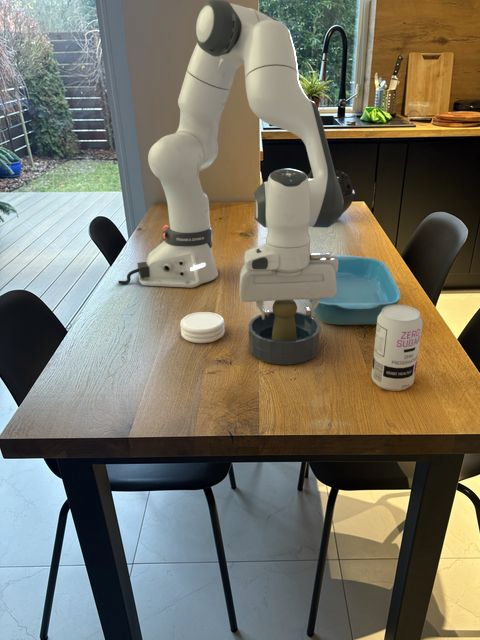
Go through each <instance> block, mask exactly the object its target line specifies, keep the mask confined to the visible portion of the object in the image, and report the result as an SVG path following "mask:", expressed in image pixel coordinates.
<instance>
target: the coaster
mask: <svg viewBox="0 0 480 640" xmlns="http://www.w3.org/2000/svg"><path fill="white" fill-rule="evenodd" d="M179 326H180V335H181V337H182V339H184V340H185V341H187V342H190V343H194V344H207V343H208V344H209V343H213V342H215V341H216V342H217V341H218V340H220V339H221V338H222V337H224V335H225V319H224V317H222V316H221V315H220V314H218V313H215V312H211V311H197V312H193V313H189V314H187V315H185V316H184V317H183V318H182V319H181V320H180V323H179Z"/></svg>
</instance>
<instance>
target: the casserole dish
mask: <svg viewBox="0 0 480 640" xmlns="http://www.w3.org/2000/svg"><path fill="white" fill-rule="evenodd" d="M333 256H335V257H337V259H338V261H339V265H338V271H337V272H336V273H335V275H336V283H337V293H336V295H335V296H334V297H333V298H322V299H319V304H318V305H317V307H316V308H315V310H314V315H315V316H316V317H317V319H319V320H320V321H321V322H323V323H325V324H327V325H334V326H353V325H354V326H371V325H373V326H374V325H377V318H378V316H379V314H380V313H381V312H382V309H383V308H384V307H386V306H389V305H399V302H400V301H401V298H402V297H401V291H400V288H399V286H398V285H397V283H396V281H395V279H394V277H393V274H392V273H391V270H390V268H389V267H388V265H387V264H386V263H385V262H383V261H382V260H380V259H377V258H374V257H367V256H365V257H364V256H358V255H351V254H350V255H349V254H333ZM332 258H333V257H332ZM308 301H309V303H310V305H311V303H312V299H308Z"/></svg>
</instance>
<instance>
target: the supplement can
mask: <svg viewBox="0 0 480 640" xmlns="http://www.w3.org/2000/svg"><path fill="white" fill-rule="evenodd" d="M423 324H424V322H423V319H422V317H421V312H420V311H419V310H418V309H417V308H415V307H414V306H409V305H406V304H397V305H389V306H386V307H384V308H383V309H382V312H381V313H380V314H379V316H378V318H377V324H376V328H375V329H376V330H375V337H374V347H373V356H372V366H371V380H372V381H373V383H374V384H375V385H376V386H378V387H379V388H380V389H384V390H387V391H392V392H399V391H404V390H407V389H408V388H409V387H412V385H413V384H414V382H415V377H416V371H417V365H418V364H417V363H418V356H419V349H420V343H421V337H422V331H423Z"/></svg>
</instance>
